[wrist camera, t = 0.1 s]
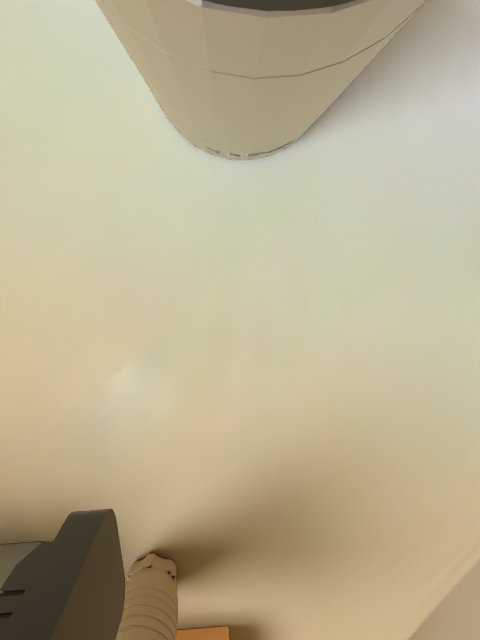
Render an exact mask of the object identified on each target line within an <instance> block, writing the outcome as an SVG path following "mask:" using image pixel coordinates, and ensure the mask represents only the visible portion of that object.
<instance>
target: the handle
mask: <svg viewBox="0 0 480 640" xmlns="http://www.w3.org/2000/svg"><path fill="white" fill-rule="evenodd" d="M126 579H127V580H128V581H127V583H126V584H125V602H124V610H123V615H122V619H121V623H120V626H119V630H118V633H117V637H116V640H176V636H177V620H178V597H177V580H176V565H175V563H174V562H173V561H172V560H170V559H163V558H160V557H158V556H157V555H155V554H148V555H146V557H145V558H144V559H143V560H141V561H136V562H134V563H133V565H132V567H131V569H130V571H129V573H128V575H127V578H126Z"/></svg>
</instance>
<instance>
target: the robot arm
mask: <svg viewBox="0 0 480 640" xmlns="http://www.w3.org/2000/svg"><path fill="white" fill-rule="evenodd" d="M95 1H96V3H97V4H98V6H99V8H100V9H101V11H102V12H103V14H104V16H105V17H106V19H107V21H108V22H109V24H110V25H111V27H112V29H113V30H114V32H115V33H116V35H117V37H118V38H119V40H120V42H121V43H122V45H123V46H124V48H125V50H126V51H127V53H128V54H129V56H130V58H131V59H132V61H133V63H134V64H135V66H136V67H137V69H138V71H139V72H140V74H141V75H142V77H143V79H144V80H145V82H146V84H147V85H148V87H149V88H150V90H151V92H152V94H153V95H154V97H155V99H156V100H157V102H158V103H159V105H160V107H161V108H162V110H163V111H164V113H165V115H166V116H167V118H168V119H169V120H170V122H171V123H172V124H173V125H174V127H175V128H176V129H177V130H178V131H179V133H180V134H181V135H183V136H184V137H185V138H186V139H187V140H189V141H190V142H191V143H192V144H193V145H195V146H196V147H198V148H200V149H202V150H204V151H206V152H208V153H210V154H212V155H215V156H219V157H223V158H227V159H233V160H251V159H257V158H262V157H267V156H269V155H271V154H274V153H276V152H278V151H281V150H283V149H285V148H286V147H287V146H289V145H290V144H292V143H293V142H294V141H296V140H297V139H299V138H300V137H301V136H302V134H303V133H304V132H305V131H306V130H307V129H308V128H309V127H310V126H311V125H312V124H313V123H314V122H315V121H316V120H317V119H318V118H319V117H320V116H321V115H322V114H323V113H324V112H325V111H326V109H327V108H328V107H329V106H330V105H331V104H332V103H333V102H334V101H335V100H336V99H337V98H338V96H339V95H340V94H341V93H342V92H343V91H344V90H345V89H346V88H347V87H348V86H349V84H350V83H351V82H352V81H353V80H354V79H355V78H356V77H357V76H358V75H359V74H360V73H361V71H362V70H363V69H364V68H365V67H366V66H367V65H368V64H369V63H370V62H371V61H372V59H373V58H374V57H375V56H376V55H377V54H378V53H379V52H380V51H381V50H382V49H383V48H384V46H385V45H386V44H387V43H388V42H389V41H390V40H391V39H392V38H393V37H394V36H395V34H396V33H397V32H398V31H399V30H400V29H401V28H402V27H403V26H404V25H405V24H406V23H407V21H408V20H409V19H410V18H411V17H412V16H413V15H414V14H415V13H416V12H417V11H418V9H419V8H420V7H421V6H422V5H423V4H424V2H425V1H426V0H95ZM124 602H125V575H124V569H123V562H122V555H121V548H120V542H119V535H118V528H117V521H116V516H115V513H114V511H113V510H112V509H103V510H91V511H79V512H72V513H70V514H69V515H68V517H67V519H66V520H65V522H64V524H63V526H62V527H61V529H60V531H59V533H58V534H57V536H56V538H55V540H54V541H53V543H41V544H39V545H38V546H37V547H36V548H35V549H34V550H32V551H31V552H30V553H29V554H28V555H27V556H26V557H24V558H23V559H22V560H21V561H20V562H19V563H18V564H17V565H15V567H14V568H13V570H12V571H11V573H10V575H9V576H8V578H7V579H6V581H5V582H4V584H3V585H2V587H1V589H0V640H116V637H117V633H118V630H119V626H120V623H121V619H122V615H123V610H124Z"/></svg>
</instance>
